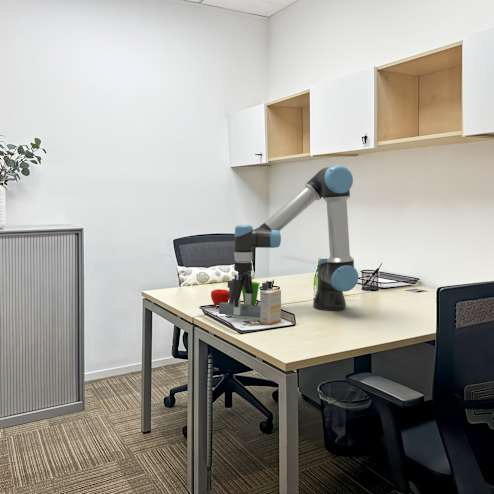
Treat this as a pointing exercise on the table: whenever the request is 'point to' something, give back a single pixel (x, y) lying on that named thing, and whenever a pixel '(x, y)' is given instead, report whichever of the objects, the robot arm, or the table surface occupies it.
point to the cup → (254, 294)
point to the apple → (220, 296)
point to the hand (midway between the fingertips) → (242, 311)
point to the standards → (231, 284)
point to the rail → (244, 309)
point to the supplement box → (270, 306)
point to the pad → (245, 317)
